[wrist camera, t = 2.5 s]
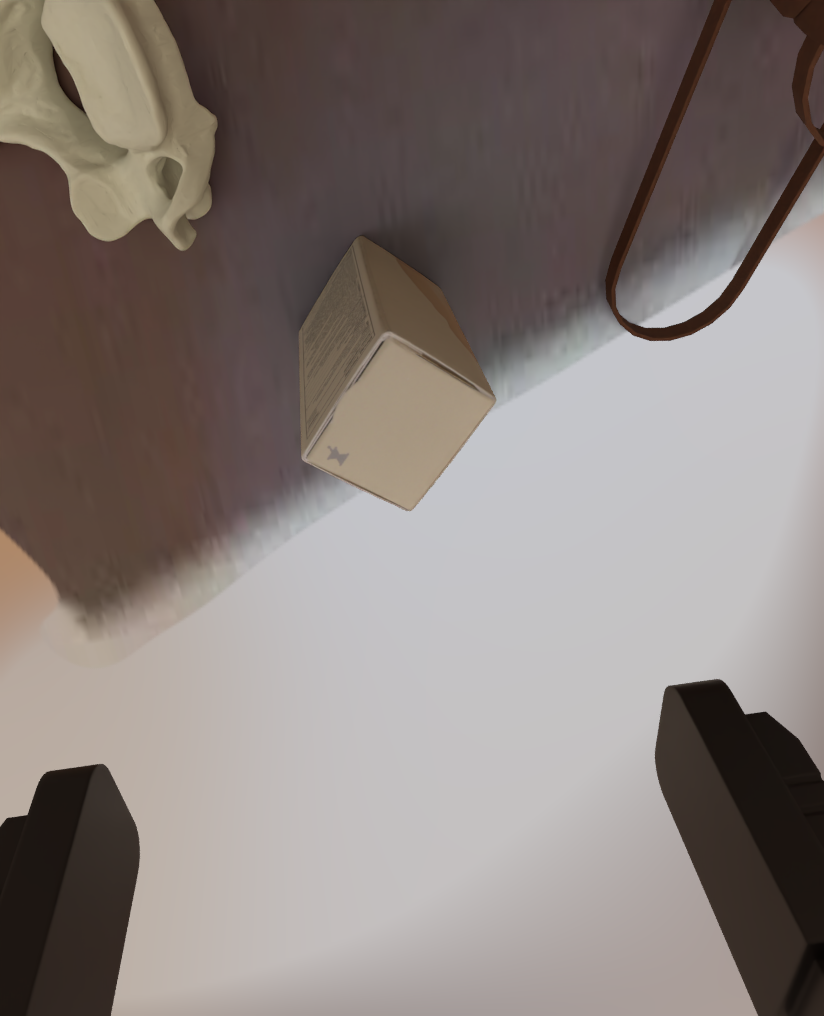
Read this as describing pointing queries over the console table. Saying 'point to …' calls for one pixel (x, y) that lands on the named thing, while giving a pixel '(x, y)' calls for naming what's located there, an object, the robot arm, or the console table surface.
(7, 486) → the console table surface
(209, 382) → the console table surface
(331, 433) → the box
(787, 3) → the brown looped piece
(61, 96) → the bone
